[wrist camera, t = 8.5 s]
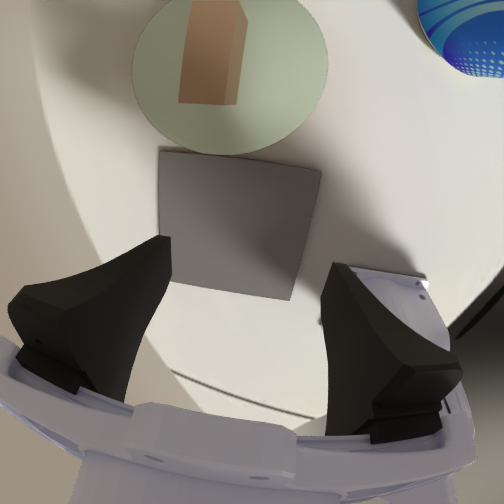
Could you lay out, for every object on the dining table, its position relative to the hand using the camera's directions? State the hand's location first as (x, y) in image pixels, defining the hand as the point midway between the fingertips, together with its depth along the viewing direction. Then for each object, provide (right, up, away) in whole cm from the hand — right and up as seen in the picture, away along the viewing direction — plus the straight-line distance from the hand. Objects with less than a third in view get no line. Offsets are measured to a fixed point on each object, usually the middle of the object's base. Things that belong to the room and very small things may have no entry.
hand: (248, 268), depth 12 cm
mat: (-2, +2, +10) cm, 11 cm away
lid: (-1, +11, 0) cm, 11 cm away
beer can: (+16, +18, -1) cm, 24 cm away
